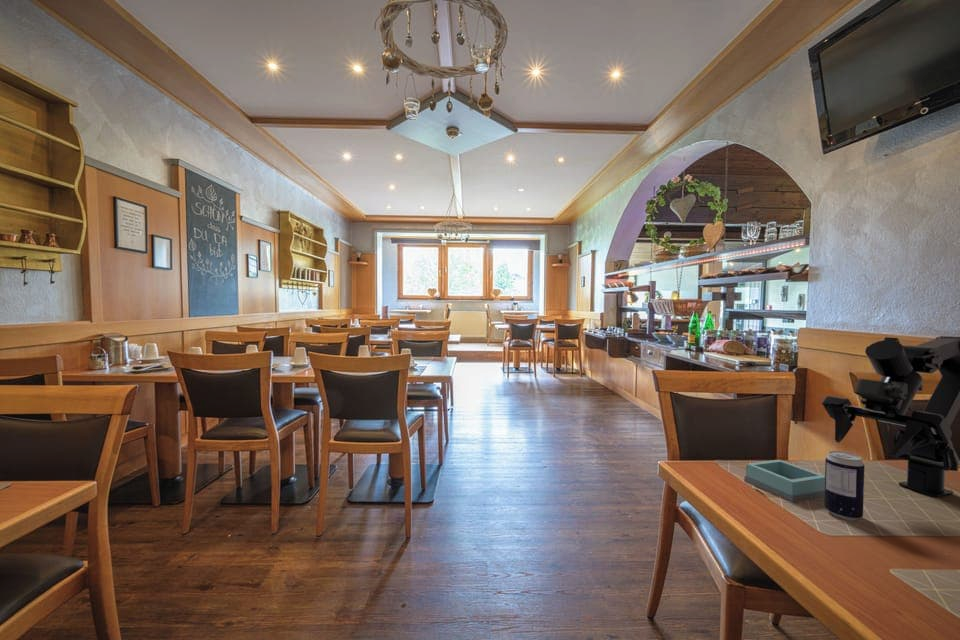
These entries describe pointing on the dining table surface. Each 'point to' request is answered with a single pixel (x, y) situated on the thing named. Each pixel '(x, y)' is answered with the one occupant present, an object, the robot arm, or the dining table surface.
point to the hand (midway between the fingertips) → (864, 448)
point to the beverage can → (844, 485)
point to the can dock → (786, 480)
